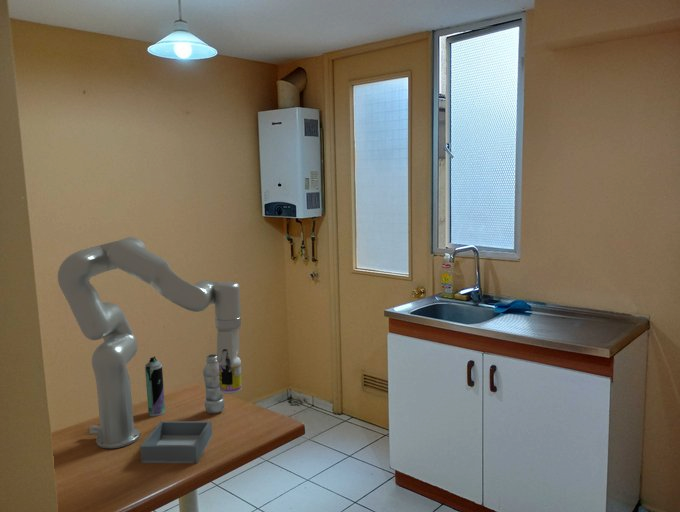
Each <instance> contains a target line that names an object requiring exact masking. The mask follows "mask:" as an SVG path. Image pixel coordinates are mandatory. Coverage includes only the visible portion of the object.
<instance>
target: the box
mask: <svg viewBox="0 0 680 512" xmlns="http://www.w3.org/2000/svg"><path fill="white" fill-rule="evenodd" d="M212 427H213V426H212V420H211V421H207V420H205V421H204V420H203V421H202V420H201V421H199V420H198V421H197V420H196V421H195V420H193V421H192V420H191V421H188V420H186V421H182V420H177V421H176V420H175V421H174V420H173V421H171V420H170V421H169V420H165V421H161V420H160V422H159V423H158V424H157V425H156V427H155V428H154V429H153V430H152V431H151V433H150V434H149V435H148V437H147V438H145V440H144V441H143V443H142V444H140V446H139V447H140V448H139V450H140V460H141V464H198V462H199V461H200V459H201V457H202V455H203V453H204V452H205V450H206V448H207V446H208V444H209V443H210V441H211V440H212V438H213V428H212Z"/></svg>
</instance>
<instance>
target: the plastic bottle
mask: <svg viewBox="0 0 680 512" xmlns="http://www.w3.org/2000/svg"><path fill="white" fill-rule="evenodd" d="M205 357H206V360H205V361H206V363H205V364H204V367H203V369H202V376H203V379H204V386H205V400H204V408H205V410H206V412H207V413H208V414H218V413H222V412H223V411H224V409H225V405H226V403H225V399H224V396H223V395H224V393H222V392H220V384H219V363H218V362H217V353H216V354H215V353H214V354H213V353H211V354H207V355H206V356H205Z"/></svg>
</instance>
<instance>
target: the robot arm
mask: <svg viewBox="0 0 680 512" xmlns="http://www.w3.org/2000/svg"><path fill="white" fill-rule="evenodd" d="M116 269H118V270H120V271H123V272H125V273H127V274H128V275H131V276H133V277H135V278H137V279H139V280H141V281H142V282H145V283H146V284H148V285H150V286H152V288H154V289H155V290H156V292H158V293H159V294H160V295H161V296H162V297H164V298H165V299H166V300H168V301H169V302H171V303H173V304H175V305H177V306H179V307H181V308H183V309H185V310H187V311H189V312H194V313H198V312H203V311H204V310H206V309H207V308H208V307H209V306H210V305H214V313H215V314H214V317H215V330H216V331H217V333H216V335H217V336H216V355H217V363H218V364H219V362H221V375H222V384H225V385H232V384H233V375H232V371H231V367H232V362H233V361H234V360H235V358H236V351H237V353H238V354H237V357H239V354H240V334H239V329H241V328H242V317H241V315H242V314H241V287H240V285H239V283H238V282H235V281H221V282H219V281H218V282H217V281H211V280H199V281H197V282H196V283H194V284H192V283H191V282H188V281H187V280H185V279H183V278H181V277H180V276H179V275H177V274H176V273H175V272H174V271H173V270H172V268H171V265H170V264H169V262H168V261H167V260H166V259H164V258H162V257H161V256H159V255H157V254H155V253H153V252H151V251H148V250H147V246H146V245H145V243H144V242H143V241H142V240H141V239H139V238H137V237H134V236H133V237H132V236H131V237H129V236H128V237H125V238H121V239H119V240H116V241H112V242H107V243H104V244H103V243H102V244H100V245H99V244H98V245H95V246H91V247H89V248H88V247H87V248H85V249H82V250H81V249H80V250H78V251H75V252H74V253H72V254H69V256H67V257H66V258H65V259H64V260H63V261H62V262H61V265H60V266H59V268H58V270H57V283H58V286H59V288H60V291H61V292H62V294H63V297H65V299H66V301H67V303H68V305H69V308H70V309H71V310H70V311H71V312H72V314H73V316H74V319H75V321H76V322H77V325H78V327H79V329H80V331H81V333H82V334H83V335H84V336H85V338H86V339H88V340H91V341H97V340H101V339H102V340H103V342H102V343H101V344H99V345H98V346H97V347H96V348H95V350H94V351H93V354H92V356H91V367H92V369H93V373H94V378H95V384H96V385H95V386H96V392H97V402H98V403H97V404H98V414H99V424H100V425H93V424H92V425H90V426H89V428H88V431H89V433H88V434H89V435H91V436H92V435H96V436H97V437H96V439H95V442H96V443H95V444H96V445H97V446H98V447H100V448H103V449H118V448H123V447H126V446H129V445H131V444H133V443H135V442H136V441H137V440H138V439H139V438H140V437H141V436H140V435H141V434H140V430H139V429H138V428H137V427H135V421H134V412H133V410H134V409H133V400H132V399H133V397H132V387H131V380H130V376H129V375H130V374H129V372H128V369H127V365H128V363H129V362H130V361H131V360H132V359H133V358H134V357H135V356H136V354H137V352H138V342H137V338H136V336H135V334H134V332H133V329H132V327H131V325H130V323H129V321H128V318H127V317H126V314H125V313H124V311H123V310H122V308H121V307H120V306H118V305H117V304H115V303H114V302H110V301H102V299H101V297H100V294H99V292H98V291H97V289H96V288H95V286H93V284H91V282H90V279H91V278H93V277H95V276H97V275H100V274H102V273H106V272H109V271H113V270H116ZM227 360H230V361H227ZM227 364H229V367H228V365H227Z"/></svg>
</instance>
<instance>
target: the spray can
mask: <svg viewBox="0 0 680 512" xmlns="http://www.w3.org/2000/svg"><path fill="white" fill-rule="evenodd" d="M149 359H150V360H148V362H147V363H145V367H144V369H145V370H144V371H145V372H144V373H145V383H146V384H145V385H146V396H147V409H148V410H147V412H148V416H151V417H159V416H162V415H164V414H165V413H166V404H165V391H164V378H163V377H164V376H163V375H164V374H163V365H162V364H163V363H162V362H161V361H159V360H158V359H156V356H152V357H150V358H149Z"/></svg>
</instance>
